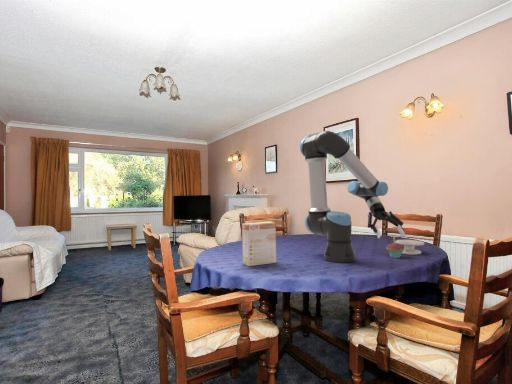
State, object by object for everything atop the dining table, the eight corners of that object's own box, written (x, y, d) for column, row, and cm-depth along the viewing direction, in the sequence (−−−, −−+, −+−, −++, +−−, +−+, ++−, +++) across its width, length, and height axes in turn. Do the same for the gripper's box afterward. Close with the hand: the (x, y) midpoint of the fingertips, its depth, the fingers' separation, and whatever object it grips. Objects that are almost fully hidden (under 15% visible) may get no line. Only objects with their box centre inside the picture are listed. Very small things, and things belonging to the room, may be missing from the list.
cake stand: (396, 254, 160) (396, 243, 160) (394, 249, 173) (394, 239, 173) (426, 256, 154) (426, 244, 154) (422, 251, 167) (422, 240, 168)
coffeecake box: (269, 260, 150) (269, 221, 151) (276, 263, 144) (276, 222, 144) (242, 263, 144) (241, 222, 144) (248, 266, 138) (247, 223, 138)
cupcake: (403, 259, 148) (402, 234, 148) (384, 257, 152) (384, 233, 152) (405, 256, 155) (404, 232, 155) (387, 254, 159) (387, 231, 159)
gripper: (392, 210, 178) (410, 239, 163) (353, 211, 174) (367, 241, 159) (398, 201, 173) (416, 231, 158) (357, 202, 169) (372, 233, 154)
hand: (391, 236), depth 159 cm, fingers open, 13 cm apart
